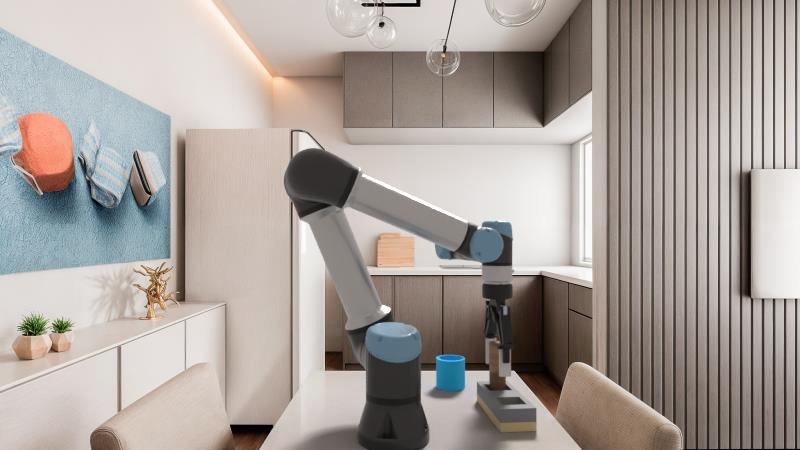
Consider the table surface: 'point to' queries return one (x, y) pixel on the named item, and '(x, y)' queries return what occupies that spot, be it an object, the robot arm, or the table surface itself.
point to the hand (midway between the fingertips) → (497, 369)
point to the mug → (450, 372)
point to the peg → (495, 368)
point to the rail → (507, 408)
